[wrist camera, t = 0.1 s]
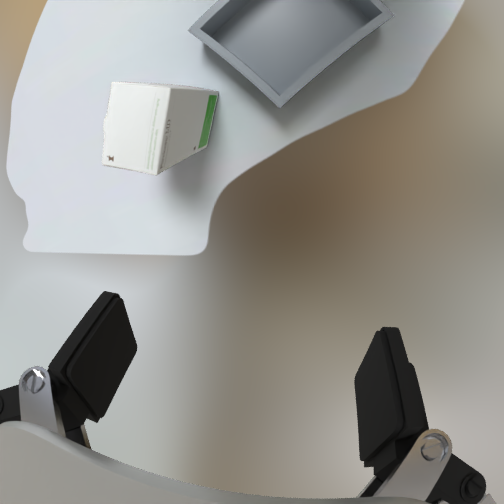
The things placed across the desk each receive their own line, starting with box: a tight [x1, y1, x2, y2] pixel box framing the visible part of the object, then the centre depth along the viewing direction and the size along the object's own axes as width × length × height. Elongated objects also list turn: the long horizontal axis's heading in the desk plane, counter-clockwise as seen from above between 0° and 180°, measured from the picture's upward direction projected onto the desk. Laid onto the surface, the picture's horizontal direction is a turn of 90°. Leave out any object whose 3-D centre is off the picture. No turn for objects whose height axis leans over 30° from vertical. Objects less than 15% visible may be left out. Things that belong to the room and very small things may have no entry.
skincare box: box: [102, 82, 219, 175], centre depth 29 cm, size 8×7×16 cm
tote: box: [188, 0, 394, 108], centre depth 25 cm, size 18×14×6 cm
